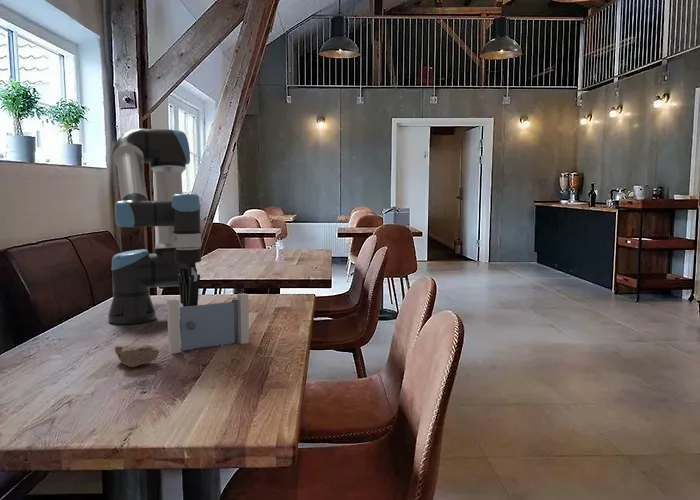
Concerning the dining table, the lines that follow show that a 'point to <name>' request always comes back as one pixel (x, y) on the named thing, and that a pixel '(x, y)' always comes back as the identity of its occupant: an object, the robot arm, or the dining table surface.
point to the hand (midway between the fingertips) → (189, 329)
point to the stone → (136, 354)
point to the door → (209, 325)
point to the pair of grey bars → (175, 322)
